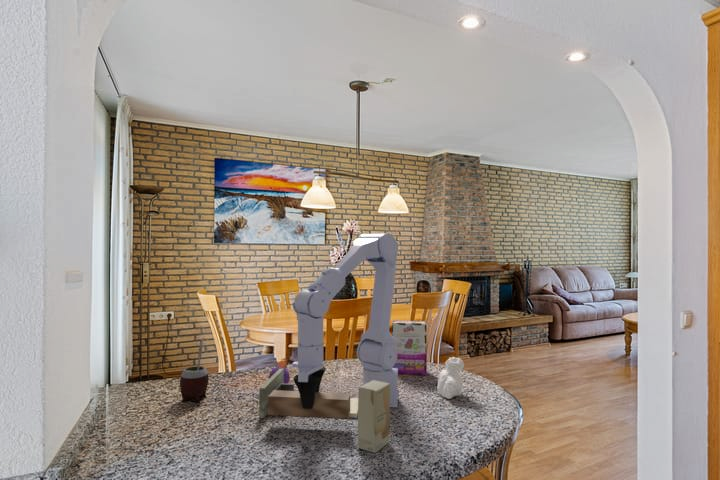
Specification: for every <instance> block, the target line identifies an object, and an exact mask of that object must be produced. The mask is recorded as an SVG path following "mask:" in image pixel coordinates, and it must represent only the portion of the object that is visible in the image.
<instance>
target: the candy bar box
mask: <svg viewBox="0 0 720 480" xmlns="http://www.w3.org/2000/svg"><path fill="white" fill-rule="evenodd" d="M427 329H428V328H427V321H417V320H393V321H392V323H391V334H392V335H393V337H394V338H395V339H396V349H397V360H396V363H395V365H394V366H393V368H398V375H419V376H427V374H428V373H427V372H428V358H427V357H428V356H427V355H428V350H427V349H428V346H427V343H428V341H427V336H428V335H427Z"/></svg>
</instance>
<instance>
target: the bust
mask: <svg viewBox="0 0 720 480" xmlns="http://www.w3.org/2000/svg"><path fill="white" fill-rule="evenodd" d="M444 365H445V367H446V369H442V370H441V371H440V373H439V374H438V376H437V387H436V389H437V392H438V394H439V395H440V396H441V397H442V398H446V399H448V400H450V399H453V398H454V397H458V396H460V395H461V393H462V390H463V386H464V384H463V378H462V376H461V375H460V373H459V372H460V371H461V370H463V368H464V366H465V362H464V361H463V359H461V357H456V356H452V357H450V356H449V357H448V359H447V360H446V361H445V362H444Z"/></svg>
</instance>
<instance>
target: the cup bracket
mask: <svg viewBox="0 0 720 480" xmlns="http://www.w3.org/2000/svg"><path fill="white" fill-rule="evenodd" d="M273 390H282V391H295V383H288V384H287V383H284V369H279V370H278V371H277V372H276V373H275V374H274V375H272V376H271V377H270V378H269V377H268V379H267V380H266V381H265V382H264V383H263V384H262V385H261V386H259V391H258V394H259V400H258V401H259V402H258V408H259V409H258V411H259V412H258V416H259V417H258V418H259V419H265V418H266V417H267V415H269V414H268V396H269V395H270V394H271V392H272V391H273ZM348 418H352V419H353V418H357V419H358V397H350V414H349V417H348Z"/></svg>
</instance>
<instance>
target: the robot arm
mask: <svg viewBox="0 0 720 480" xmlns="http://www.w3.org/2000/svg"><path fill="white" fill-rule="evenodd" d="M398 249H399V243H398V241H397V240H396V238H395V236H394V235H393V234H392V233H389V232H385V233H362V234H360V235H358V237H357V238H356V239H354V240H353V244H352V247H350V249H349V250H348V251H347V253H346V254H345V255H344V256H343V257H342V259H341V260H340V261H339V262H338V263H337V264H336V266H335V267H327V269H326V268H324V269H322V271H321V274H320V276H318V278H317V279H316V280H315V281H313V283H312V282H311V283H310V284H309V285H308V288H307V289H304V290H300V291H299V292H298V293H297V295H296V296H295V297H294V301H293V302H292V308H293V311H294V312H295V314H296V320H297V361H294V362H292V364H291V365H292V366H291V367H293V368H297V371H298V373H297V374H296V375H295V376H294V377H293V382H294V385H295V386H296V388H297V391H299V393H300V398H301V403H302V407H303V409H312V408H313V405H314V399H315V392H320V388H321V383H322V379H323V376H324V374H325V373H326V370H327V369H326V366H325V362H324V316H325V315H326V314H327V313H328V311H329V310H330V304H331V303H332V300H333V298H334V297H335V296H336V295H337V294H338V293H340V291H341V290H342V288H343V287H345V285H346V278H347V277H348V275H350V274H351V273H352V271H354V270H355V269H356V268H357V267H358V266H360V264H361V263H363V261H366V262H367V263H369V264H370V265H371V266H372V267H373V268H374V270H375V274H374V282H373V289H372V297H371V298H372V299H371V306H370V313H369V314H370V315H369V325H368V328H367V330H365V331H363V332H362V333H361V335H360V341H359V344H358V345H357V349H356V357H357V359H358V361H359V362H360V363H361V364H360V366H361V367H362V385H364V384H366V383H369V382H371V381H372V380H376V381H380V382H385V383H390V408H398V404H399V403H398V399H399V398H400V390H399V385H398V384H399V378H398V377H399V374H398V368H393V366H394V365H395V363H396V360H397V349H396V339H395V338H394V337H393V335H392V332H390V326H391V316H392V309H393V299H394V289H395V281H396V273H397V259H398V258H397V257H398Z"/></svg>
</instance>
